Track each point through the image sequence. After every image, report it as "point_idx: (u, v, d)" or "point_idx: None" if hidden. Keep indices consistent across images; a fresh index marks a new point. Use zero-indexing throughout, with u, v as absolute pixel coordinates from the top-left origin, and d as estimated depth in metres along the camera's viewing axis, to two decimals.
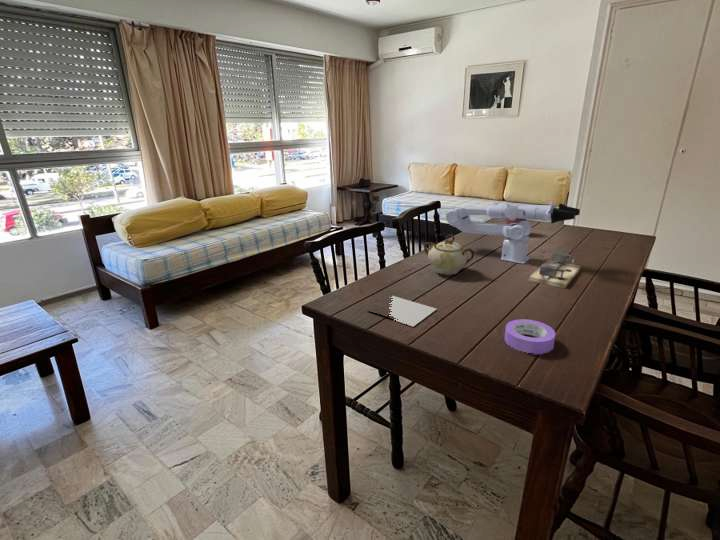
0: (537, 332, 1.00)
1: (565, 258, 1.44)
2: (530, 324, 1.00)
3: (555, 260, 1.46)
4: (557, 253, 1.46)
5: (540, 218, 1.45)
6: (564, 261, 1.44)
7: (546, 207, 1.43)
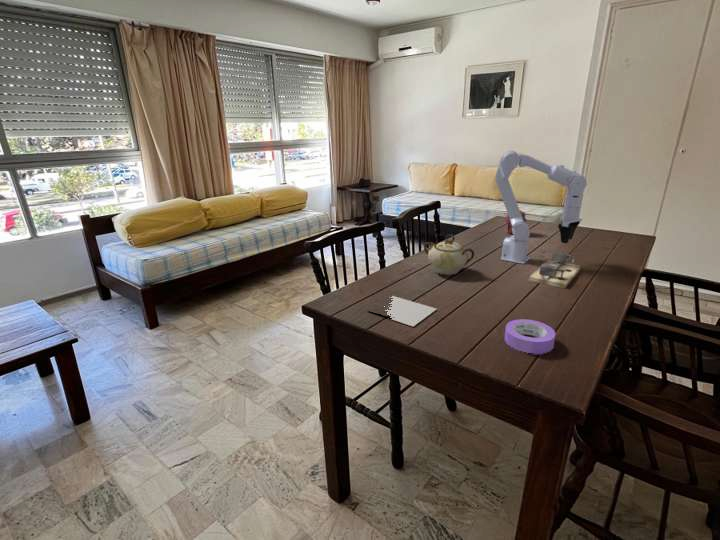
0: (537, 332, 1.00)
1: (565, 258, 1.44)
2: (530, 324, 1.00)
3: (555, 260, 1.46)
4: (557, 253, 1.46)
5: (564, 211, 1.44)
6: (564, 261, 1.44)
7: (576, 216, 1.43)
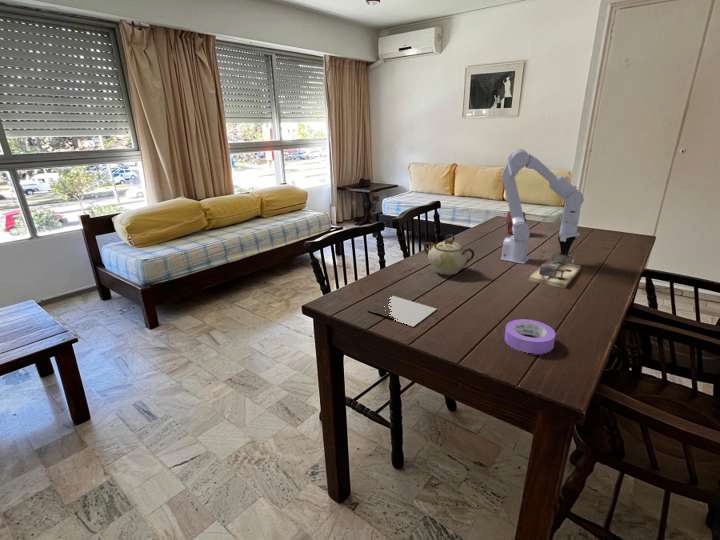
0: (537, 332, 1.00)
1: (565, 258, 1.44)
2: (530, 324, 1.00)
3: (555, 260, 1.46)
4: (557, 253, 1.46)
5: (562, 225, 1.46)
6: (564, 261, 1.44)
7: (574, 231, 1.45)
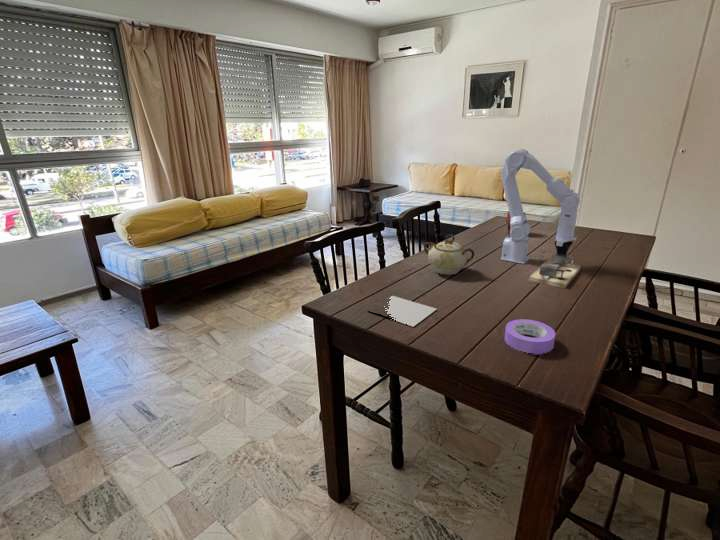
0: (537, 332, 1.00)
1: (564, 259, 1.43)
2: (530, 324, 1.00)
3: (554, 261, 1.45)
4: (556, 254, 1.45)
5: (559, 230, 1.43)
6: (563, 262, 1.43)
7: (570, 236, 1.42)
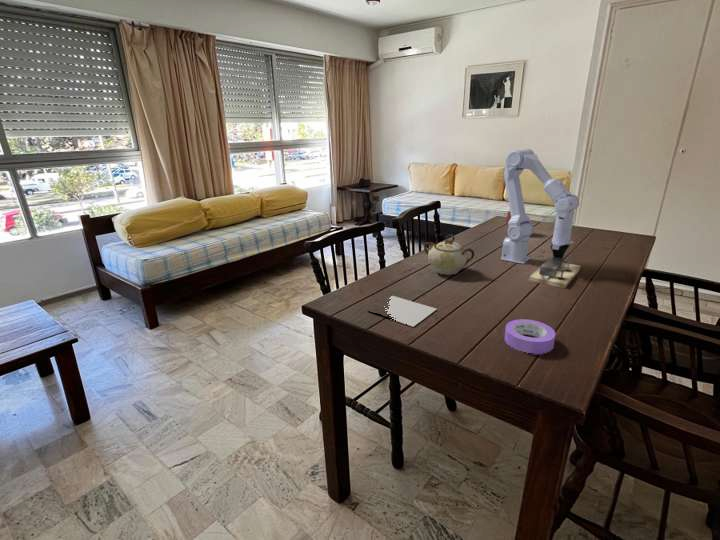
0: (537, 332, 1.00)
1: (560, 263, 1.39)
2: (530, 324, 1.00)
3: (550, 265, 1.42)
4: (552, 258, 1.42)
5: (555, 233, 1.39)
6: (559, 266, 1.40)
7: (567, 239, 1.38)
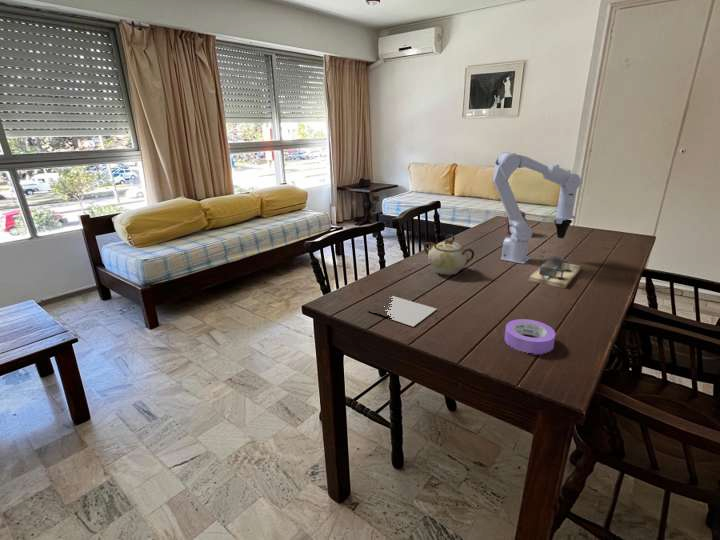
0: (537, 332, 1.00)
1: (560, 263, 1.39)
2: (530, 324, 1.00)
3: (550, 265, 1.42)
4: (552, 258, 1.42)
5: (558, 208, 1.48)
6: (559, 266, 1.40)
7: (570, 214, 1.47)
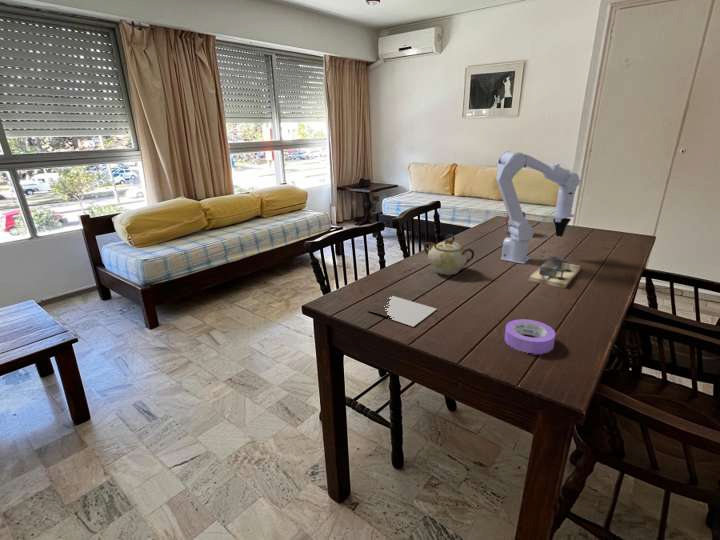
0: (537, 332, 1.00)
1: (560, 263, 1.39)
2: (530, 324, 1.00)
3: (550, 265, 1.42)
4: (552, 258, 1.42)
5: (557, 207, 1.51)
6: (559, 266, 1.40)
7: (568, 212, 1.49)
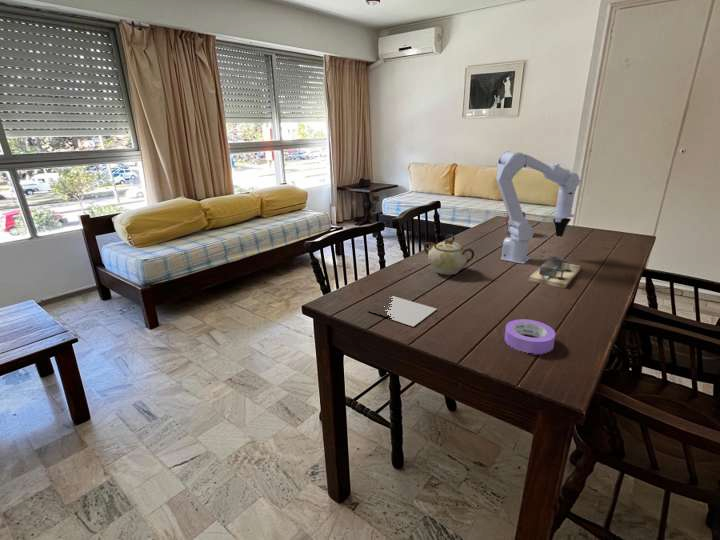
0: (537, 332, 1.00)
1: (560, 263, 1.39)
2: (530, 324, 1.00)
3: (550, 265, 1.42)
4: (552, 258, 1.42)
5: (557, 207, 1.51)
6: (559, 266, 1.40)
7: (568, 212, 1.49)
